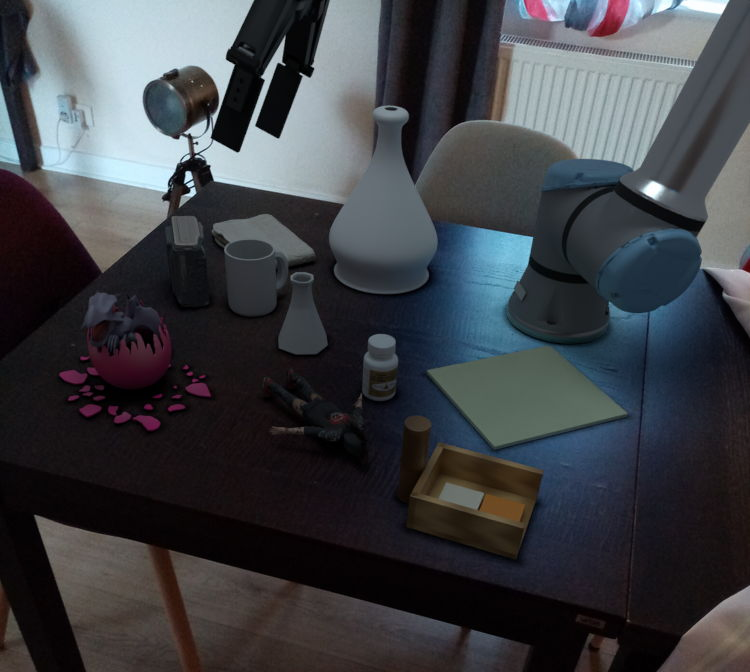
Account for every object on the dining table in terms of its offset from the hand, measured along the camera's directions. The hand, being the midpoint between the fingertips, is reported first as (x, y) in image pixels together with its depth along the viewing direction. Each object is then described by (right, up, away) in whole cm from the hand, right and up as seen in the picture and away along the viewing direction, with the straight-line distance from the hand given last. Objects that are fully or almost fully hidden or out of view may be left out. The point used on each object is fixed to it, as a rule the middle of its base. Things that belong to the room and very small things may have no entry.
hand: (247, 138), depth 77 cm
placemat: (+32, -22, +26) cm, 47 cm away
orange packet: (+26, -38, +7) cm, 46 cm away
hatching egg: (-18, -21, +23) cm, 36 cm away
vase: (+14, +2, +52) cm, 53 cm away
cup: (-5, -6, +41) cm, 42 cm away
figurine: (+6, -27, +18) cm, 33 cm away
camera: (-16, -4, +43) cm, 46 cm away
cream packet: (+22, -36, +8) cm, 43 cm away
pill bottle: (+13, -22, +25) cm, 36 cm away
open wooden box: (+22, -37, +9) cm, 44 cm away
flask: (+2, -14, +33) cm, 36 cm away
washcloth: (-7, +6, +55) cm, 56 cm away
